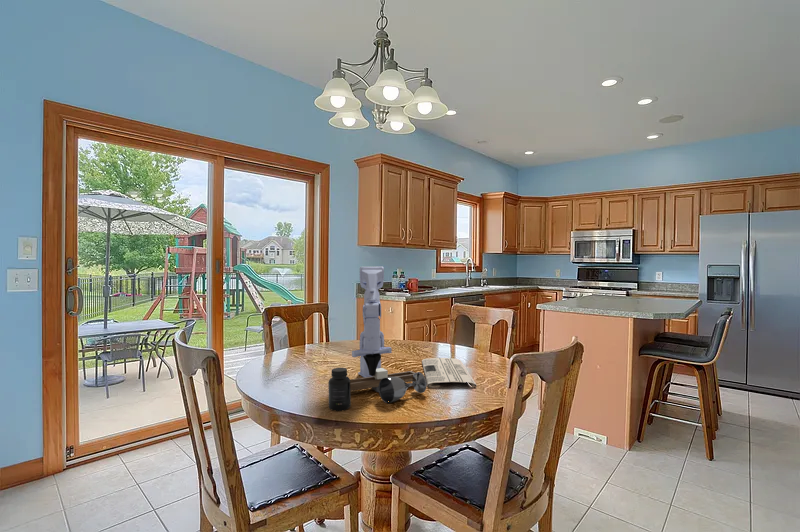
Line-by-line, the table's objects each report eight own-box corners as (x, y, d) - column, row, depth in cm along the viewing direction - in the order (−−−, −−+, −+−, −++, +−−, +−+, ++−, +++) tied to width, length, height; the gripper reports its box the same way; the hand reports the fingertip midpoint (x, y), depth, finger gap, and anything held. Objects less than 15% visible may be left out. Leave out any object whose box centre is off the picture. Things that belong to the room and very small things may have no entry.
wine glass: (424, 398, 138) (391, 408, 128) (409, 387, 143) (376, 395, 134) (429, 377, 136) (396, 385, 126) (414, 366, 142) (381, 373, 132)
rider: (372, 379, 145) (372, 369, 145) (382, 378, 147) (382, 367, 147) (377, 382, 141) (377, 372, 141) (387, 381, 143) (387, 370, 143)
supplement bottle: (329, 404, 129) (329, 366, 129) (351, 403, 129) (350, 366, 129) (327, 412, 122) (327, 372, 122) (350, 411, 123) (350, 371, 122)
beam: (340, 392, 140) (340, 380, 140) (410, 381, 153) (410, 370, 153) (346, 397, 135) (346, 385, 135) (418, 385, 148) (418, 374, 148)
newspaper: (421, 364, 182) (421, 357, 182) (464, 363, 182) (464, 357, 182) (427, 389, 146) (427, 381, 146) (481, 389, 146) (481, 381, 146)
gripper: (356, 340, 136) (356, 380, 136) (395, 336, 142) (395, 375, 142) (349, 337, 142) (349, 375, 142) (386, 333, 149) (386, 370, 149)
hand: (372, 375), depth 143 cm, fingers closed
